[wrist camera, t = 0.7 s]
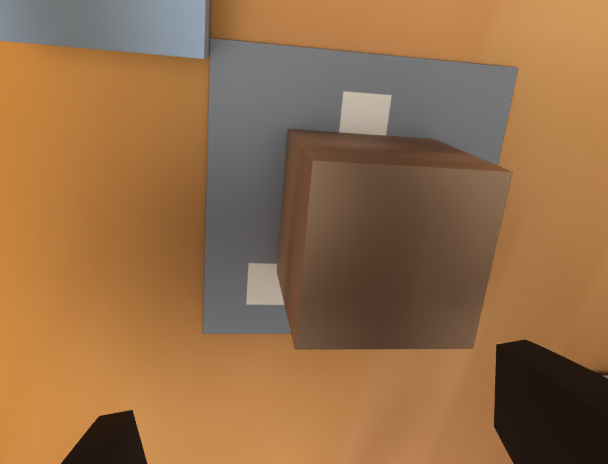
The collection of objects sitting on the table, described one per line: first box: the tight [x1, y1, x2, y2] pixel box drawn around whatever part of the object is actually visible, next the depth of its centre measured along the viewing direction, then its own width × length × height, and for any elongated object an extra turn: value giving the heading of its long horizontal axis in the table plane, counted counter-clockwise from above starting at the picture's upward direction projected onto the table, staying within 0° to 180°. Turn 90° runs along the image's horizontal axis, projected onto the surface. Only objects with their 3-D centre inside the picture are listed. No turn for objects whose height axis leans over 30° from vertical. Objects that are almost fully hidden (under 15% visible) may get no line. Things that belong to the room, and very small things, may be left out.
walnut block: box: [277, 129, 512, 349], centre depth 15 cm, size 5×5×5 cm
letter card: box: [203, 38, 518, 334], centre depth 18 cm, size 10×10×1 cm
